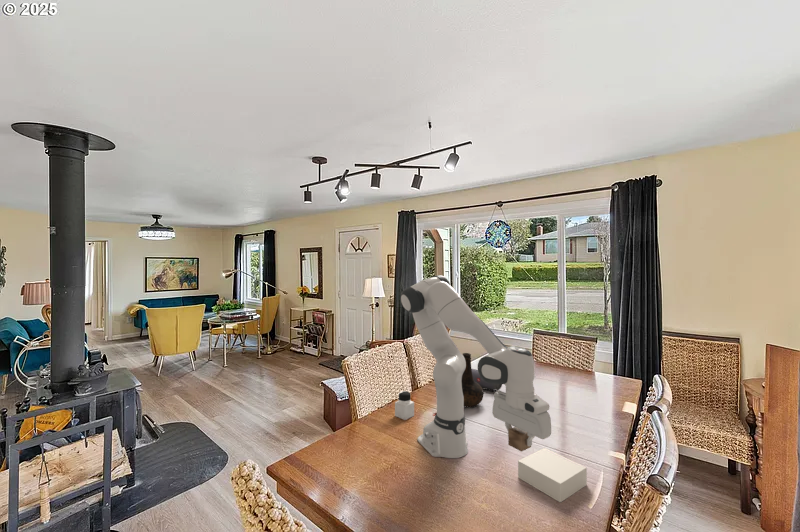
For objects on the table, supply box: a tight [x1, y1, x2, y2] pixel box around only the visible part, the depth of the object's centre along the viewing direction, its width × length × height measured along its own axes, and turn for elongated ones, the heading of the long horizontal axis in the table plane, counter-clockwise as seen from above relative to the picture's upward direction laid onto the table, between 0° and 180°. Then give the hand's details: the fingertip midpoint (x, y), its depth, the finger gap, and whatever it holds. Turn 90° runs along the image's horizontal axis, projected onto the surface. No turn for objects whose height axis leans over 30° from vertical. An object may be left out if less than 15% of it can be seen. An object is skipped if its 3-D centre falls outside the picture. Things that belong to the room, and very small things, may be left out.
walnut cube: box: [507, 426, 532, 453], centre depth 112 cm, size 5×5×5 cm
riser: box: [517, 447, 588, 503], centre depth 122 cm, size 16×16×6 cm
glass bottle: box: [462, 352, 485, 408], centre depth 191 cm, size 18×18×28 cm
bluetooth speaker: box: [471, 368, 503, 391], centre depth 218 cm, size 23×9×10 cm, turn 42°
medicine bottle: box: [394, 390, 415, 421], centre depth 176 cm, size 7×7×12 cm
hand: (519, 441), depth 112 cm, fingers closed on walnut cube, 5 cm apart
